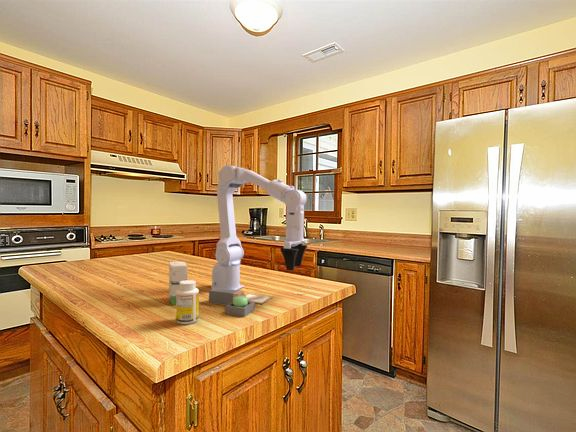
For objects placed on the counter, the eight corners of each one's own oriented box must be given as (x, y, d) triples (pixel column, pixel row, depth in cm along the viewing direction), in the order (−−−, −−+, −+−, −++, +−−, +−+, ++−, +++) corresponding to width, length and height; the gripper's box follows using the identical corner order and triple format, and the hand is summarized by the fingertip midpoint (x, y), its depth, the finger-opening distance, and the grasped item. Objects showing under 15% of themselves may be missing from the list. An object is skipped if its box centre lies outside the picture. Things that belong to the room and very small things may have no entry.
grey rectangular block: (208, 302, 95) (209, 290, 95) (216, 299, 98) (216, 287, 98) (238, 306, 91) (238, 294, 91) (244, 303, 95) (244, 291, 95)
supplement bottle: (191, 315, 83) (191, 278, 83) (203, 320, 80) (203, 281, 79) (171, 321, 79) (171, 281, 79) (183, 327, 75) (183, 285, 75)
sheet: (237, 301, 97) (237, 299, 97) (248, 295, 104) (248, 293, 104) (262, 304, 94) (262, 303, 94) (271, 298, 101) (271, 296, 101)
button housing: (225, 313, 85) (225, 305, 85) (236, 307, 91) (236, 299, 91) (244, 316, 83) (244, 308, 83) (254, 309, 89) (254, 302, 89)
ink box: (188, 303, 94) (188, 264, 93) (170, 305, 91) (171, 266, 91) (184, 296, 101) (184, 260, 101) (168, 297, 99) (168, 261, 99)
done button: (230, 308, 86) (230, 298, 86) (237, 304, 90) (237, 295, 89) (243, 310, 84) (243, 300, 84) (250, 306, 88) (250, 296, 88)
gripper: (299, 228, 92) (298, 273, 93) (312, 226, 106) (311, 265, 106) (277, 227, 95) (276, 271, 95) (293, 225, 108) (292, 263, 109)
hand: (293, 268), depth 101 cm, fingers open, 7 cm apart
